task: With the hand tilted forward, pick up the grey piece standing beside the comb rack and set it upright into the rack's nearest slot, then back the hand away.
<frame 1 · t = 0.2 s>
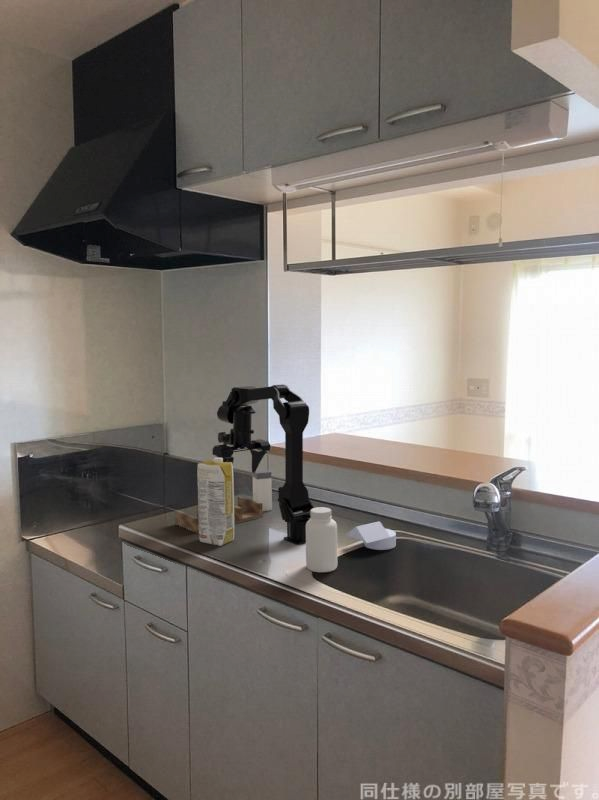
hand: (241, 474, 205), 14 cm above the worktop, tool pointing down, fingers open, 9 cm apart
wedge on round base: (374, 546, 180), on the worktop
pill bottle: (321, 568, 164), on the worktop
grey piece: (262, 509, 217), on the worktop
comb rack: (219, 520, 204), on the worktop
juice carton: (216, 541, 185), on the worktop
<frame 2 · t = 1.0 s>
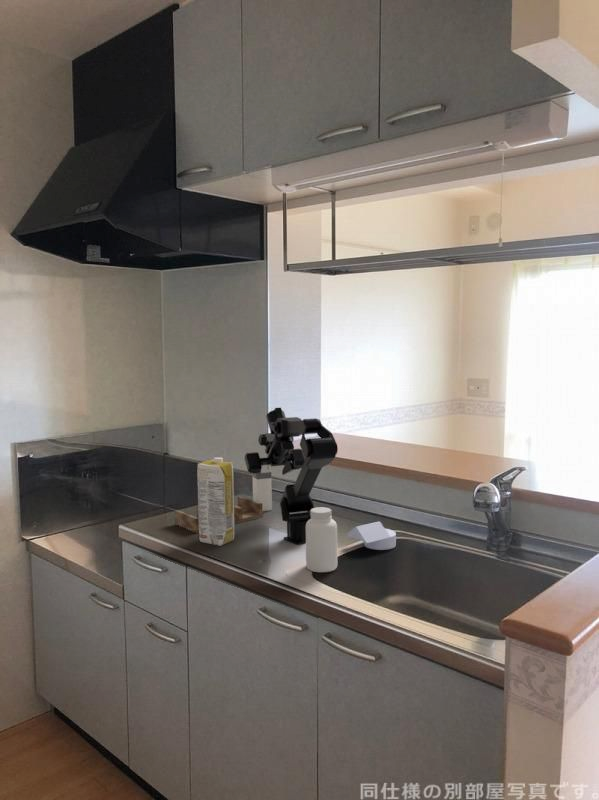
hand: (269, 475, 208), 13 cm above the worktop, tool tilted 45°, fingers open, 9 cm apart
nothing on the worktop moved.
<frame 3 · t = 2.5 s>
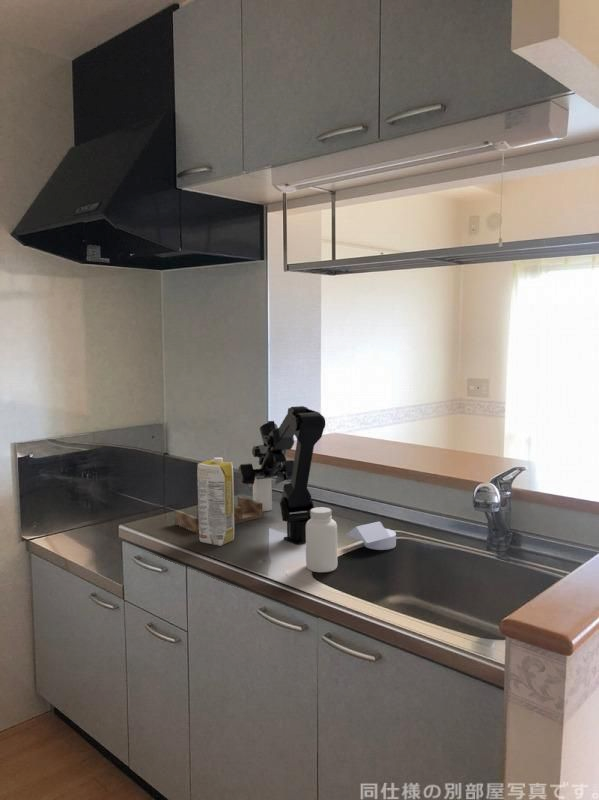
hand: (262, 484, 215), 9 cm above the worktop, tool tilted 45°, fingers open, 9 cm apart
nothing on the worktop moved.
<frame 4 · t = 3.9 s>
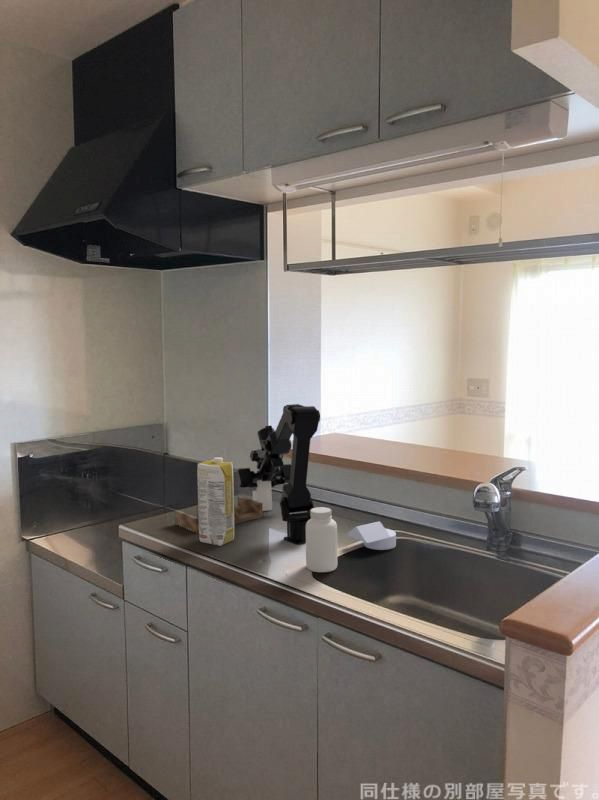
hand: (260, 488, 217), 7 cm above the worktop, tool tilted 45°, fingers closed on grey piece, 5 cm apart
grey piece: (262, 509, 217), on the worktop, touching gripper
everything else where it was.
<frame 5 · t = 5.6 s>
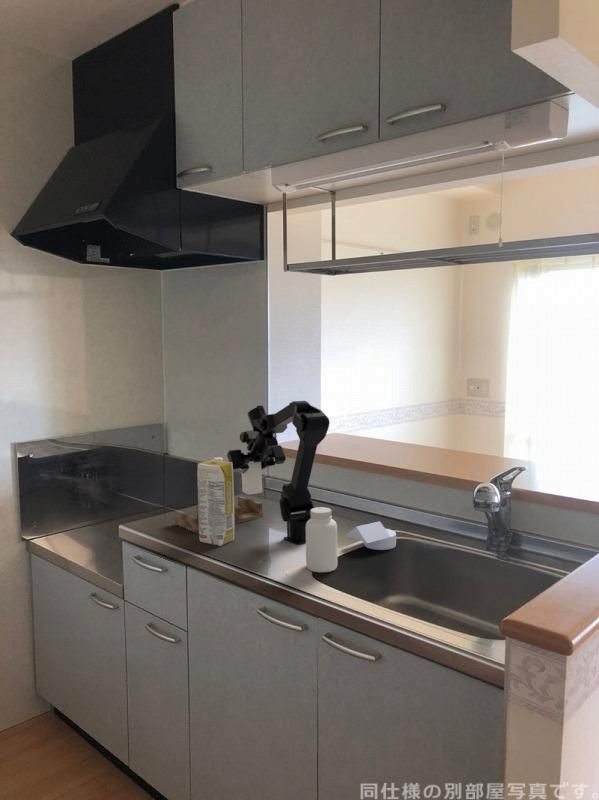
hand: (249, 471, 213), 13 cm above the worktop, tool tilted 45°, fingers closed on grey piece, 5 cm apart
grey piece: (252, 492, 213), point 7 cm above the worktop, touching gripper
everything else where it was.
when the fingers open (9 cm above the worktop, at t = 7.5 s): grey piece drops 1 cm, resting on comb rack.
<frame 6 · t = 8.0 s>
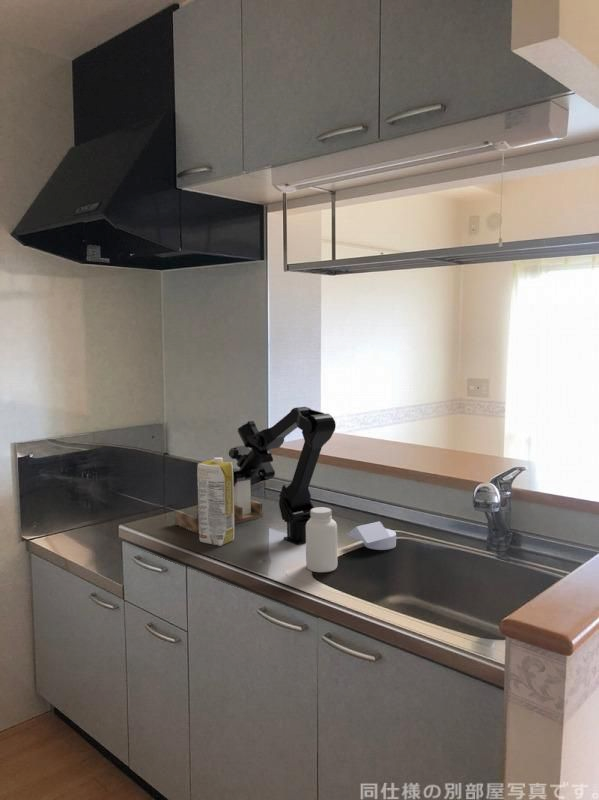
hand: (237, 487, 210), 9 cm above the worktop, tool tilted 45°, fingers open, 9 cm apart
grey piece: (240, 512, 209), point 1 cm above the worktop, touching comb rack
everything else where it was.
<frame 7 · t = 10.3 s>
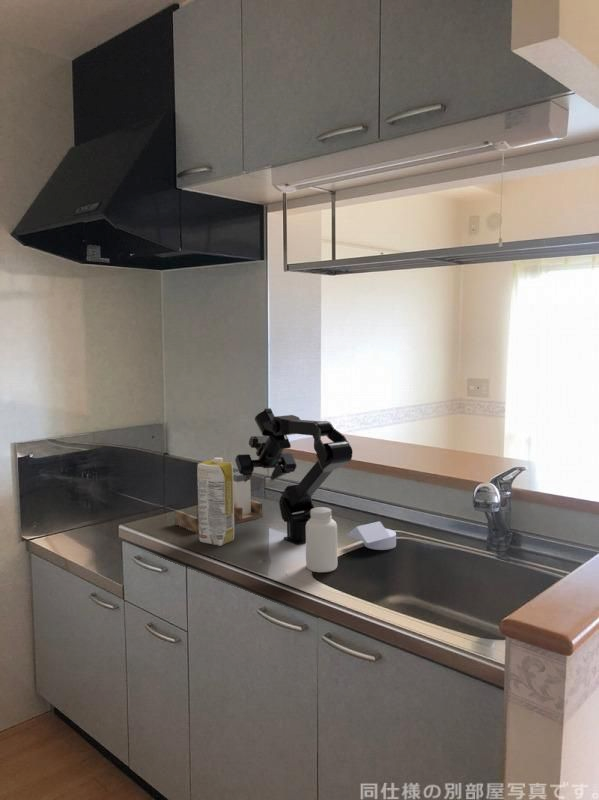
hand: (258, 480, 203), 13 cm above the worktop, tool tilted 40°, fingers open, 9 cm apart
nothing on the worktop moved.
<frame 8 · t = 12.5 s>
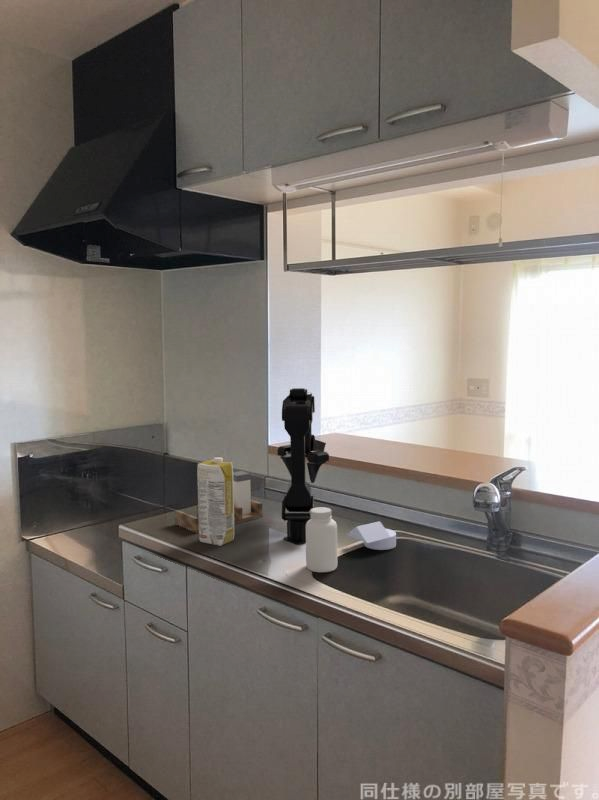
hand: (302, 480, 206), 12 cm above the worktop, tool pointing down, fingers open, 9 cm apart
nothing on the worktop moved.
at the end: grey piece 0.1 cm from the target spot on the comb rack, point 1.0 cm above the comb rack's base; grey piece tilted 0°; the gripper is holding nothing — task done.
